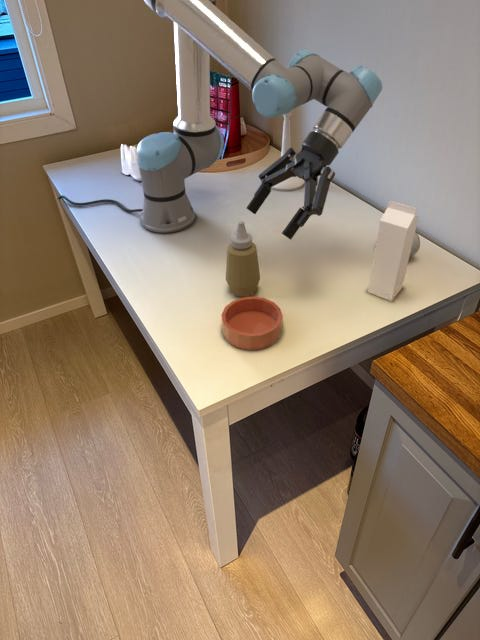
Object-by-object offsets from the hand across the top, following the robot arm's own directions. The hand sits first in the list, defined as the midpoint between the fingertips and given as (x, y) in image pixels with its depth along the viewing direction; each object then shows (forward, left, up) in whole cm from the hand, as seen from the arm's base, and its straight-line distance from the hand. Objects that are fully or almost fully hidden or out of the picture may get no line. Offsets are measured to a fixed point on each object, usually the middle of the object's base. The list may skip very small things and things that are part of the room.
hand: (267, 223), depth 107 cm
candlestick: (-26, +48, -16) cm, 57 cm away
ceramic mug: (+20, +28, -16) cm, 37 cm away
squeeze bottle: (-2, -6, -16) cm, 17 cm away
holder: (+8, -16, -16) cm, 24 cm away
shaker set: (-70, +23, -16) cm, 76 cm away
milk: (+25, +13, -16) cm, 32 cm away
